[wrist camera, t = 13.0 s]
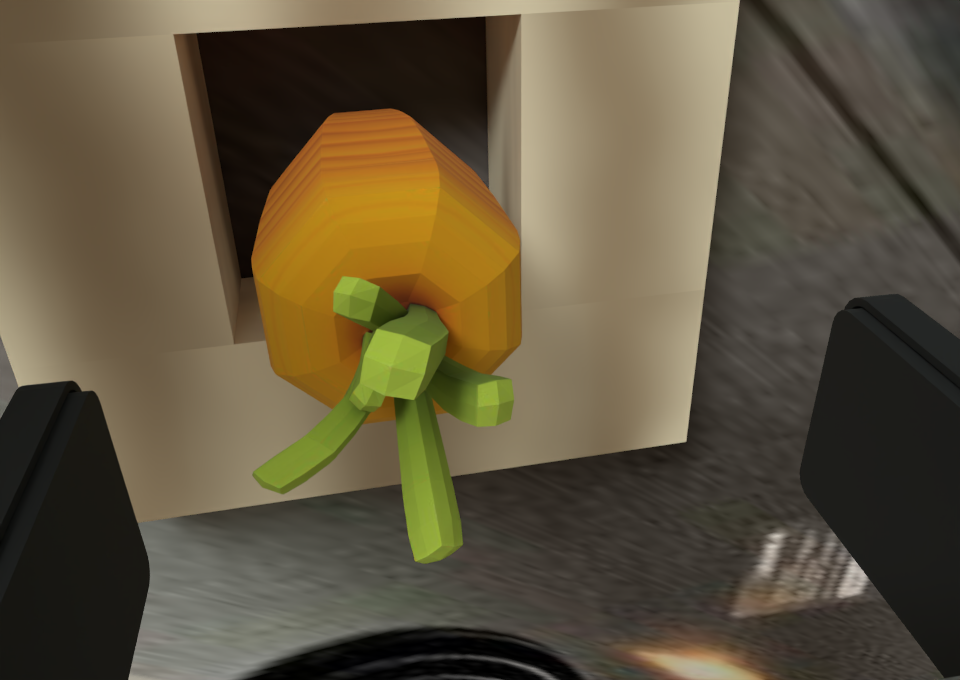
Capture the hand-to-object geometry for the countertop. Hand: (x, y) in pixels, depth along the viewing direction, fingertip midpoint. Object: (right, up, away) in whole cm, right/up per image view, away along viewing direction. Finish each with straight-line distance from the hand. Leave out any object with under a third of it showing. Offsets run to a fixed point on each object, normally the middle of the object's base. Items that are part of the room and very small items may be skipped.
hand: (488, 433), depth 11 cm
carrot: (-3, +7, +13) cm, 15 cm away
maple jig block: (-4, +7, +13) cm, 15 cm away
